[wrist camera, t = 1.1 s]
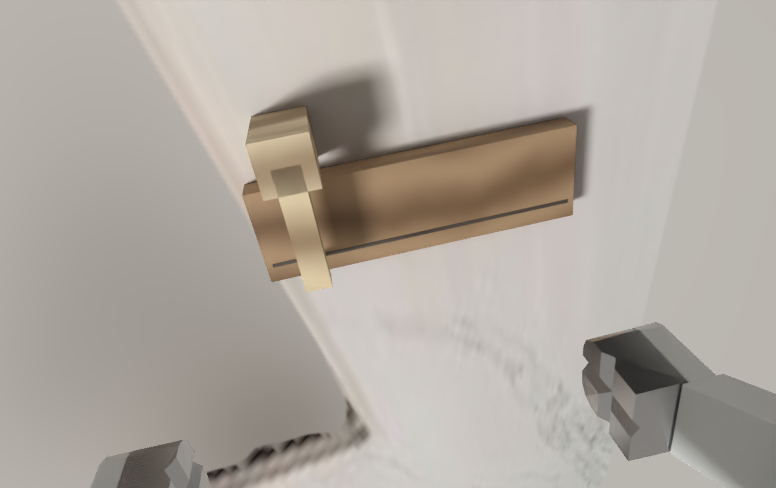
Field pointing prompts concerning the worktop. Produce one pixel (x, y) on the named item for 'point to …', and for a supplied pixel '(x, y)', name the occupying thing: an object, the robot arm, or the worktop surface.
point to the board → (428, 196)
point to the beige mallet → (291, 184)
